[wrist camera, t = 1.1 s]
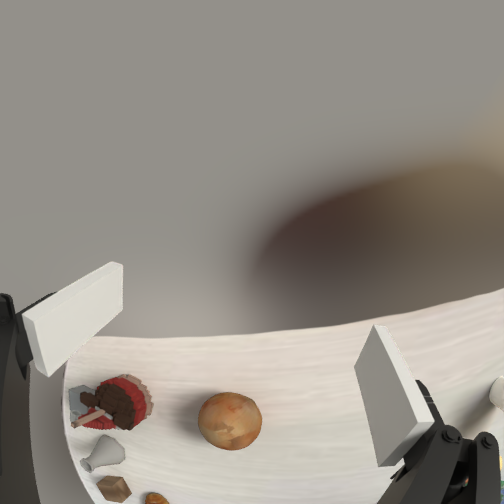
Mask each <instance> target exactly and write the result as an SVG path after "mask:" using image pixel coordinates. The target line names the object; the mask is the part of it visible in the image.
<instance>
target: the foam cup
mask: <svg viewBox="0 0 504 504" xmlns="http://www.w3.org/2000/svg"><path fill="white" fill-rule="evenodd" d="M489 398H490V401H491V402H492V403H493V404H494V405H496V406H497V407H498V408H500V409H501V410H503V411H504V376H500V377H499V378H497V379H496V381H495V382H494V383H493V385H492V388H491V390H490V395H489Z"/></svg>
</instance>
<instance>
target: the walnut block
mask: <svg viewBox="0 0 504 504" xmlns="http://www.w3.org/2000/svg"><path fill="white" fill-rule="evenodd" d="M96 485H97V486H98V488H99V490H100V491H101V493H102V495H103V496H104V498H105V499H106V500H108V501H113V502H119V503H122V502H123V501H125V500H126V499H127V498H128V497H129V496H130V495H131V494H132V493H131V491H130V489H129V488H128V486H127V484H126V482H125V481H124V479H123V477H115V476H106V477H105V478H103V479H102V480H101V481H99V482H98V483H97V484H96Z"/></svg>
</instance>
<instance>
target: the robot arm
mask: <svg viewBox="0 0 504 504" xmlns="http://www.w3.org/2000/svg"><path fill="white" fill-rule="evenodd" d="M122 289H123V265H122V264H119V263H116V262H112V261H111V262H110V263H108V264H106V265H104V266H102V267H100V268H99V269H97V270H95V271H93V272H91V273H90V274H88V275H86V276H84V277H83V278H81V279H79V280H77V281H76V282H74V283H72V284H70V285H69V286H67V287H65V288H64V289H62V290H60V291H58V292H54V293H51V294H48V295H46V296H45V297H43V298H41V300H38V301H36V302H35V303H33V304H31V305H30V306H28V307H26V308H25V309H23V310H22V311H20V312H18V313H17V314H15V309H14V305H13V299H12V297H11V296H10V295H8V294H3V293H1V294H0V504H40V499H39V495H38V490H37V485H36V480H35V473H34V467H33V459H32V450H31V440H30V421H29V386H30V384H29V383H30V365H29V362H30V361H31V360H33V359H34V362H35V366H36V369H37V370H38V371H40V372H41V373H43V374H44V375H46V376H47V377H50V376H51V375H52V374H53V373H54V372H55V371H56V370H57V369H58V368H59V367H60V366H61V365H62V364H63V363H64V362H65V361H67V360H68V359H69V358H70V357H71V356H72V355H73V354H74V353H75V352H76V351H77V350H78V349H80V348H81V347H82V346H83V345H84V344H85V343H86V342H87V341H88V340H89V339H90V338H92V337H93V336H94V335H95V334H96V333H97V332H98V331H99V330H100V329H102V328H103V327H104V326H105V325H106V324H107V323H108V322H109V321H111V320H112V319H113V318H114V317H115V316H116V315H117V314H118V313H120V312H121V311H122V310H123V297H122V296H123V290H122ZM354 368H355V372H356V375H357V379H358V383H359V386H360V390H361V394H362V398H363V402H364V406H365V410H366V414H367V418H368V422H369V426H370V431H371V435H372V439H373V444H374V449H375V453H376V458H377V463H378V467H384V466H395V465H396V464H397V463H398V462H399V461H400V460H401V459H402V458H403V459H404V462H405V465H403V466H402V467H401V468H400V469H399V470H398V471H397V472H396V473H395V474H394V475H393V476H392V477H391V478H390V479H393V478H394V477H395V478H394V480H393V481H392V483H391V484H390V486H389V487H388V489H387V490H386V491H385V493H384V494H383V496H382V497H381V499H380V500H379V501H378V503H377V504H501V474H500V457H499V447H498V442H497V440H496V438H495V437H494V436H493V435H492V434H491V433H488V432H481V433H479V434H478V435H477V436H476V438H475V439H474V440H470V439H464V438H462V436H461V433H460V432H459V431H458V430H457V429H456V428H454V427H453V426H450V425H445V424H444V422H443V420H442V418H441V416H440V414H439V412H438V410H437V408H436V406H435V404H433V400H432V398H431V397H430V394H429V392H428V390H427V388H426V387H425V386H424V385H423V384H422V383H421V381H420V380H415V379H414V377H413V375H412V373H411V371H410V369H409V367H408V365H407V363H406V362H405V360H404V358H403V356H402V354H401V352H400V350H399V348H398V347H397V345H396V343H395V341H394V339H393V338H392V336H391V334H390V332H389V330H388V329H387V327H385V326H380V325H373V327H372V329H371V332H370V334H369V336H368V338H367V341H366V343H365V345H364V347H363V349H362V352H361V354H360V356H359V358H358V360H357V362H356V364H355V366H354ZM467 479H468V484H467V485H465V483H466V480H467Z"/></svg>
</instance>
